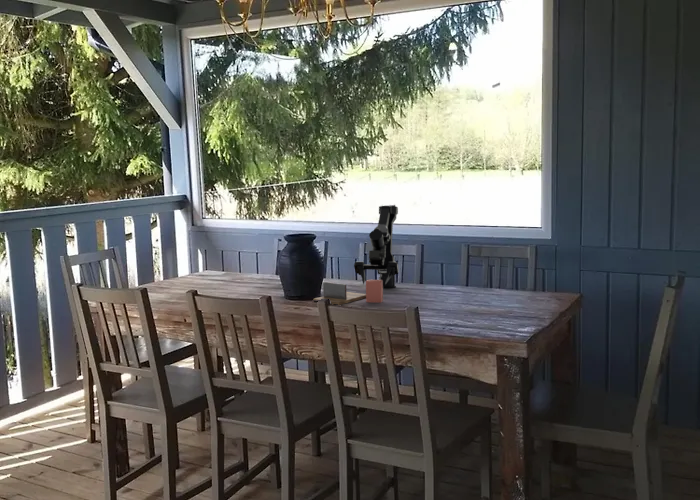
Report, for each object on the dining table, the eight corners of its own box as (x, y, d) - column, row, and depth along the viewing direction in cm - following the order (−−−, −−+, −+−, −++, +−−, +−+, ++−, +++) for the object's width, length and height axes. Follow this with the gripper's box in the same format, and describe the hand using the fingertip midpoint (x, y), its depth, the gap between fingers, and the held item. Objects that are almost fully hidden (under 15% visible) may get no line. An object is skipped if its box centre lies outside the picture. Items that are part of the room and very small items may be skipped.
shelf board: (342, 293, 315) (342, 291, 315) (367, 297, 307) (367, 294, 307) (313, 301, 300) (313, 298, 300) (338, 305, 291) (338, 302, 291)
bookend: (325, 296, 304) (324, 281, 303) (346, 299, 297) (346, 284, 296) (323, 296, 303) (323, 282, 302) (345, 299, 296) (344, 284, 295)
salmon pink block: (367, 300, 300) (367, 279, 299) (382, 300, 299) (382, 279, 298) (366, 302, 296) (365, 281, 295) (381, 302, 295) (381, 281, 294)
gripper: (354, 242, 301) (349, 272, 292) (397, 243, 297) (393, 272, 288) (358, 258, 310) (353, 287, 301) (400, 258, 306) (396, 288, 297)
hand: (374, 283), depth 296 cm, fingers open, 9 cm apart
